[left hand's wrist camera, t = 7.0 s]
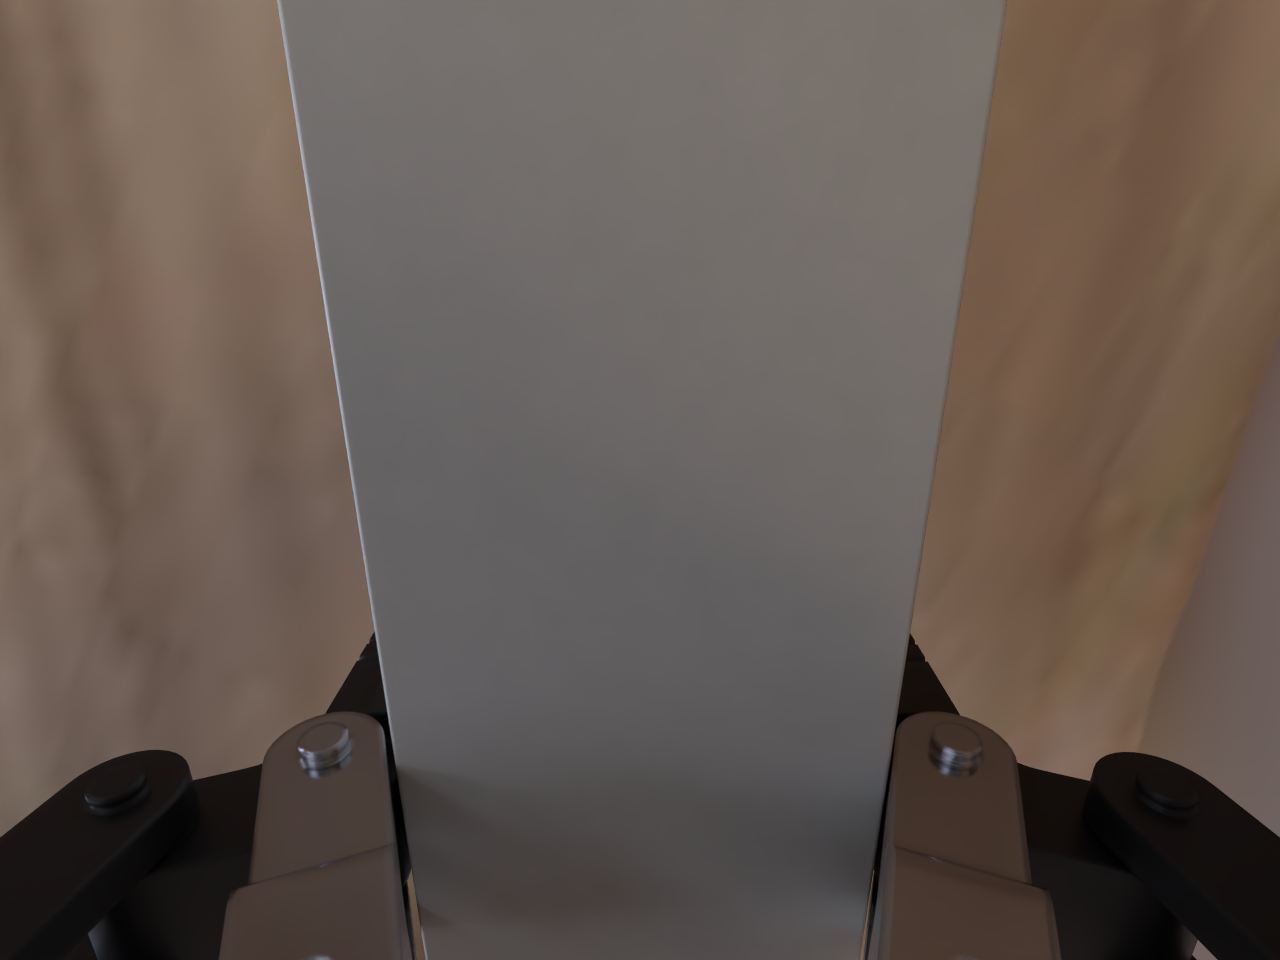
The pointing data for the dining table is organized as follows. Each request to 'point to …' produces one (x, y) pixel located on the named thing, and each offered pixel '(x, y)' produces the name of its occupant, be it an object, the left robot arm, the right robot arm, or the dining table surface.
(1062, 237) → the dining table surface
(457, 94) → the bar
